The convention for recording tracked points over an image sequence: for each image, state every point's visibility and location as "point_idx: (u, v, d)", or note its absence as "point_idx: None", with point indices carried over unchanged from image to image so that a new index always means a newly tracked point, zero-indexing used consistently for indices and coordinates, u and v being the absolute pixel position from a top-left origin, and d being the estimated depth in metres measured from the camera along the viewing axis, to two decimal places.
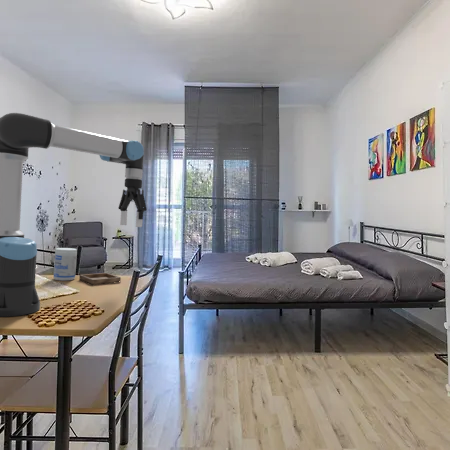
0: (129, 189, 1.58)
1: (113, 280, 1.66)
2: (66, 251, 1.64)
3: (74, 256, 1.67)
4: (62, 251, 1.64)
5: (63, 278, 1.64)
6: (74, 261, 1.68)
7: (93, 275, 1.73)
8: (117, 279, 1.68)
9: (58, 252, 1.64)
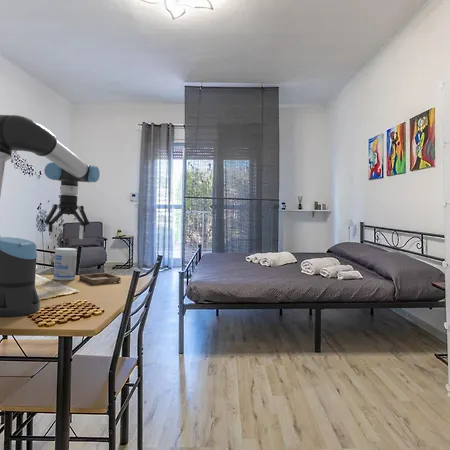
0: None
1: (113, 280, 1.66)
2: (66, 251, 1.64)
3: (74, 256, 1.67)
4: (62, 251, 1.64)
5: (63, 278, 1.64)
6: (74, 261, 1.68)
7: (93, 275, 1.73)
8: (117, 279, 1.68)
9: (58, 252, 1.64)
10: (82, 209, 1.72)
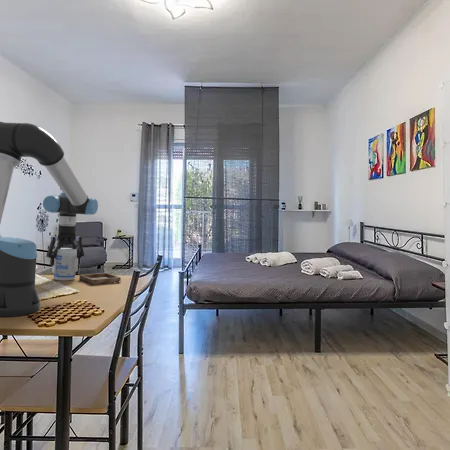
0: None
1: (113, 280, 1.66)
2: (66, 251, 1.64)
3: (74, 256, 1.67)
4: (62, 251, 1.64)
5: (63, 278, 1.64)
6: (74, 261, 1.68)
7: (93, 275, 1.73)
8: (117, 279, 1.68)
9: (58, 252, 1.64)
10: (80, 240, 1.72)
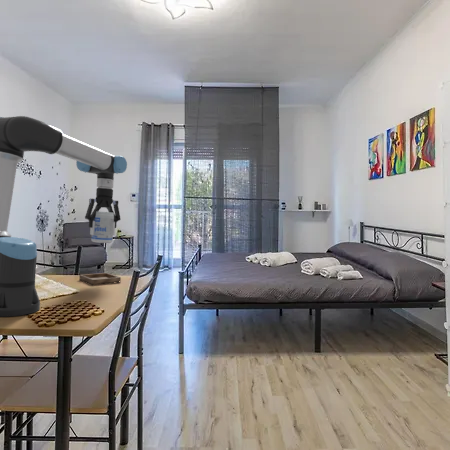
0: None
1: (113, 280, 1.66)
2: (104, 213, 1.64)
3: (112, 219, 1.67)
4: (100, 213, 1.64)
5: (101, 240, 1.64)
6: (112, 224, 1.67)
7: (93, 275, 1.73)
8: (117, 279, 1.68)
9: (96, 214, 1.64)
10: (117, 204, 1.71)
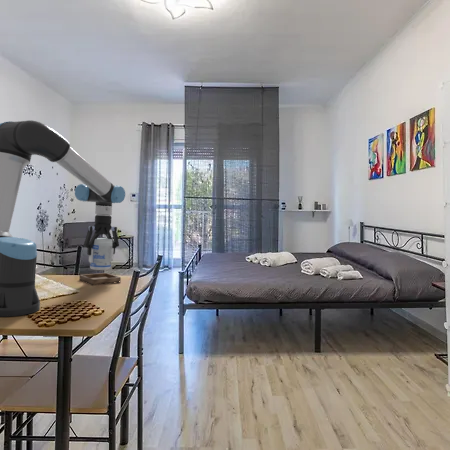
0: None
1: (113, 280, 1.66)
2: (103, 241, 1.64)
3: (110, 246, 1.67)
4: (99, 241, 1.64)
5: (100, 268, 1.64)
6: (110, 251, 1.68)
7: (93, 275, 1.73)
8: (117, 279, 1.68)
9: (95, 242, 1.64)
10: (115, 230, 1.72)
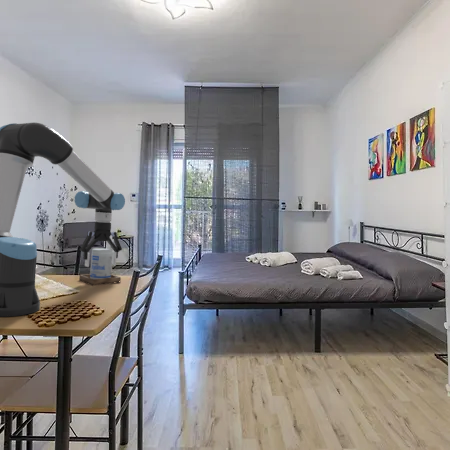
0: None
1: (113, 280, 1.66)
2: (103, 251, 1.64)
3: (110, 256, 1.68)
4: (99, 251, 1.64)
5: (100, 278, 1.64)
6: (110, 261, 1.68)
7: None
8: (117, 279, 1.68)
9: (95, 253, 1.64)
10: (115, 235, 1.72)
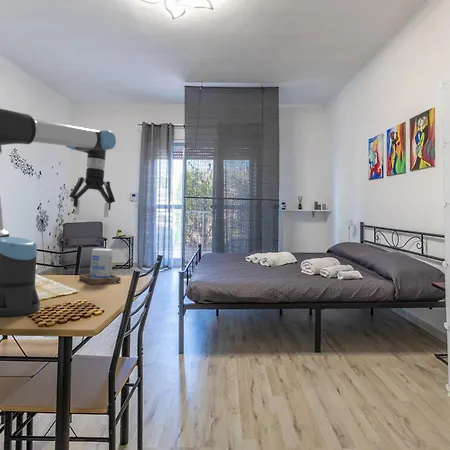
0: None
1: (113, 280, 1.66)
2: (103, 251, 1.65)
3: (110, 256, 1.68)
4: (99, 251, 1.64)
5: (100, 278, 1.64)
6: (110, 261, 1.68)
7: None
8: (117, 279, 1.68)
9: (95, 253, 1.64)
10: (108, 185, 1.61)
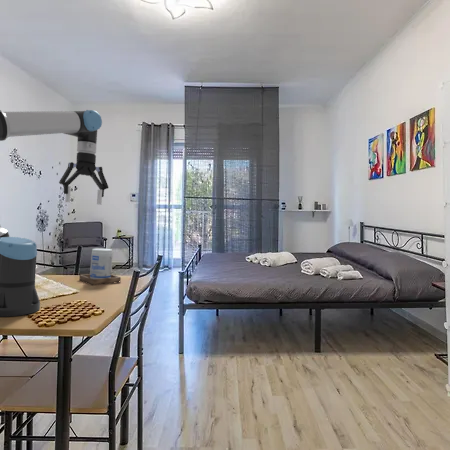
0: None
1: (113, 280, 1.66)
2: (103, 251, 1.65)
3: (110, 256, 1.68)
4: (99, 251, 1.64)
5: (100, 278, 1.64)
6: (110, 261, 1.68)
7: None
8: (117, 279, 1.68)
9: (95, 253, 1.64)
10: (101, 170, 1.52)
